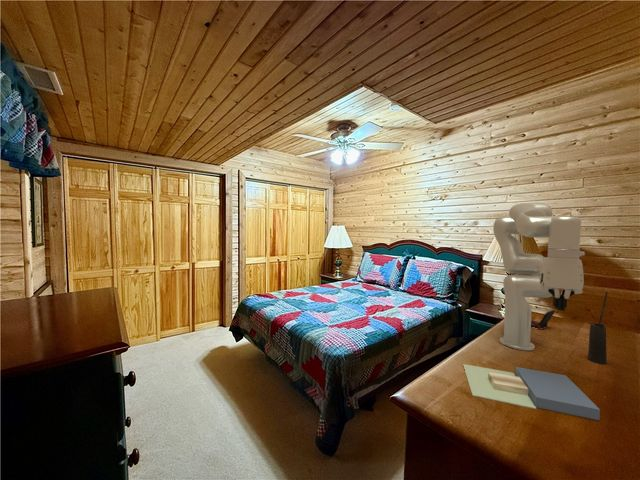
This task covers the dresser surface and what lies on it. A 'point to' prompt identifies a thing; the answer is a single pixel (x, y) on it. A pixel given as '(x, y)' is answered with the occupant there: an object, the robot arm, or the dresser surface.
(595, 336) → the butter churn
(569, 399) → the slate blue tile
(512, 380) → the birch block
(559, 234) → the robot arm
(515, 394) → the mat
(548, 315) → the dark brown angled stand
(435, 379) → the dresser surface
